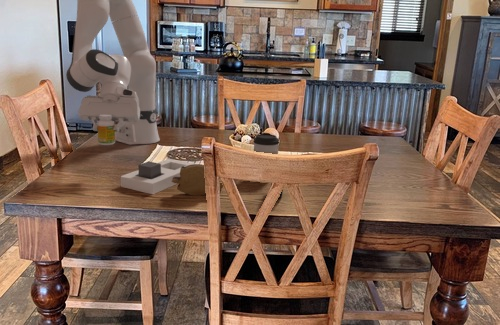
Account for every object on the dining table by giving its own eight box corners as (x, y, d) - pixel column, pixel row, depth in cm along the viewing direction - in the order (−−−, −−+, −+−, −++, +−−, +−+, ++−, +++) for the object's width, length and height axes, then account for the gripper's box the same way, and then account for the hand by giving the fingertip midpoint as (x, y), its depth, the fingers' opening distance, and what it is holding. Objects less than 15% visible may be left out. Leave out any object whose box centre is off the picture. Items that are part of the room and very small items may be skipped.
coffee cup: (278, 180, 165) (280, 138, 160) (252, 180, 165) (253, 137, 160) (276, 172, 173) (278, 132, 169) (251, 172, 173) (253, 131, 169)
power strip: (121, 186, 154) (120, 165, 152) (169, 167, 175) (169, 149, 173) (152, 194, 148) (152, 172, 146) (198, 174, 169) (199, 154, 167)
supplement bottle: (108, 146, 157) (107, 117, 155) (95, 144, 159) (93, 115, 156) (118, 142, 162) (117, 114, 159) (105, 140, 164) (104, 112, 161)
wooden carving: (224, 191, 153) (224, 161, 150) (225, 196, 148) (226, 165, 146) (171, 192, 150) (171, 161, 147) (171, 197, 146) (171, 166, 143)
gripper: (80, 90, 163) (71, 124, 156) (140, 92, 162) (133, 126, 156) (85, 101, 168) (77, 134, 162) (143, 103, 168) (137, 136, 161)
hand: (105, 130), depth 159 cm, fingers closed on supplement bottle, 5 cm apart
